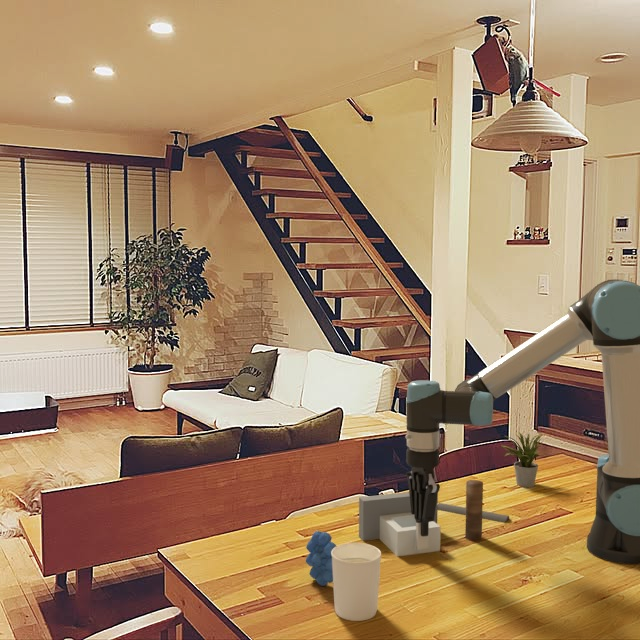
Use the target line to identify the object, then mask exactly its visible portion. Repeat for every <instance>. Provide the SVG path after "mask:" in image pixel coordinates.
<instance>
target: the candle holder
mask: <svg viewBox="0 0 640 640" xmlns="http://www.w3.org/2000/svg"><path fill="white" fill-rule="evenodd" d="M331 556H332V571H333V582H332V587H333V602H334V603H333V604H334V611H335V612H334V613H335V614H336V615H337V616H338V617H339V618H341V619H343V620H345V621H352V622H360V621H361V622H362V621H367V620H370V619H372V618H374V617H375V616H376V615H377V612H378V604H379V601H378V600H379V587H380V573H381V563H382V562H381V560H382V551H381V550H380V548H378V547H376V546H374V545H372V544H369V543H364V542H347V543H342V544H338V545H336V547H335V548H333V549H332V551H331Z"/></svg>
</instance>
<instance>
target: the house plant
mask: <svg viewBox="0 0 640 640" xmlns="http://www.w3.org/2000/svg"><path fill="white" fill-rule="evenodd" d="M518 434H519V435H517V434H516V436H517V438H518V440H519V441H520V443H521V445H522V447H521V446H520V444H519V442H517V441H516V440H515V439H514V438H512V437H510V436H507V435H505V437H506V438H509V439H510V440H511V443H513V445H514V446H516V447H517V449H515V448H512V447H511V446H507V445H500V447H502V448H504V450H506V451H508V452H507V453H505V455H504V457H506V456H510V455H513V456H514V457H516V458H517V459H518V461H515V462H514V463H513V466H514V473H515V480H516V485H517V486H518V485H519V487H521V488H522V487H523V488H533V487H534V486H535V483H536V478H537V473H538V468H539V464H537V463H535V462H533V461H534V460H535V459H536V458H538V457H540V456H541V457H542V456H544V457H546V454H545V455H544V454H538V453H541V452H540V451H539V450H538V449H539V447H540V446H542V445H543V444H542V443H543V441H542V442H541V440H542V436H544V435H545V433H541V434H539V435H535V436H533V437H532V439H531V440H530V433H528V434H527V437H526V436H523V433H521V431H518ZM540 442H541V443H540Z"/></svg>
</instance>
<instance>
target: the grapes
mask: <svg viewBox="0 0 640 640" xmlns="http://www.w3.org/2000/svg"><path fill="white" fill-rule="evenodd" d="M332 538H333V537H332V535H330V533H329V532H326V531H324V532H321V531H320V530H315V531H314V533H312V535H311V539H310V540H309V541H308V542H307V544H306V546H305V547H306V550H307V551H308V552H309V553H308V555H307V557H306V558H305V563H306V564H307V565H308V566H310V567H311V569H310V571H309V575H310V577H311V578H312V579H314V580H316V583H317V584H318V585H320V586H322V587H325V586H326V585H328V584H331V583H332V584H333V571H332V556H331V551H332V549H333V548H335V547H336V546H337V545H336V543H334V542H332Z"/></svg>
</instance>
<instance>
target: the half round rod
mask: <svg viewBox="0 0 640 640" xmlns="http://www.w3.org/2000/svg"><path fill="white" fill-rule="evenodd" d="M437 511H440V512H447V513H451V514H458V515H462V516H466V507H465V506H464V507H463V506H457V505H453V504H449V503H441V502H439V503H438V510H437ZM509 519H510V516H509V515H506V514H502V513H496V512H490V511H485V510H482V520H486V521H487V520H488V521H492V522H498V523H506V522H507V521H508V520H509Z"/></svg>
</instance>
